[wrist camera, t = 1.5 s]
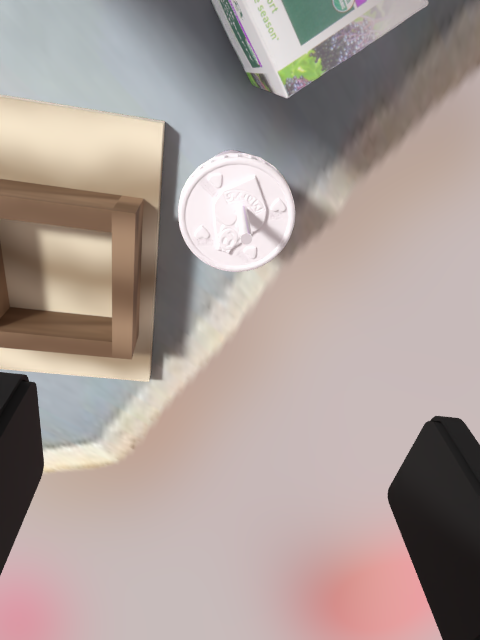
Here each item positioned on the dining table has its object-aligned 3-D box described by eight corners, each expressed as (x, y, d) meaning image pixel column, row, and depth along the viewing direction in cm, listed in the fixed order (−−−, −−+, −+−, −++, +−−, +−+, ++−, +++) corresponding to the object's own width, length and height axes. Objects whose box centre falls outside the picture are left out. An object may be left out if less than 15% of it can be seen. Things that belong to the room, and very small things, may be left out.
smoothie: (289, 151, 30) (339, 211, 18) (253, 231, 33) (275, 328, 21) (205, 113, 28) (198, 150, 16) (175, 201, 31) (151, 286, 19)
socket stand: (-56, 85, 27) (-104, 89, 23) (165, 121, 28) (156, 130, 24) (-6, 359, 38) (-32, 394, 34) (150, 373, 40) (143, 408, 36)
